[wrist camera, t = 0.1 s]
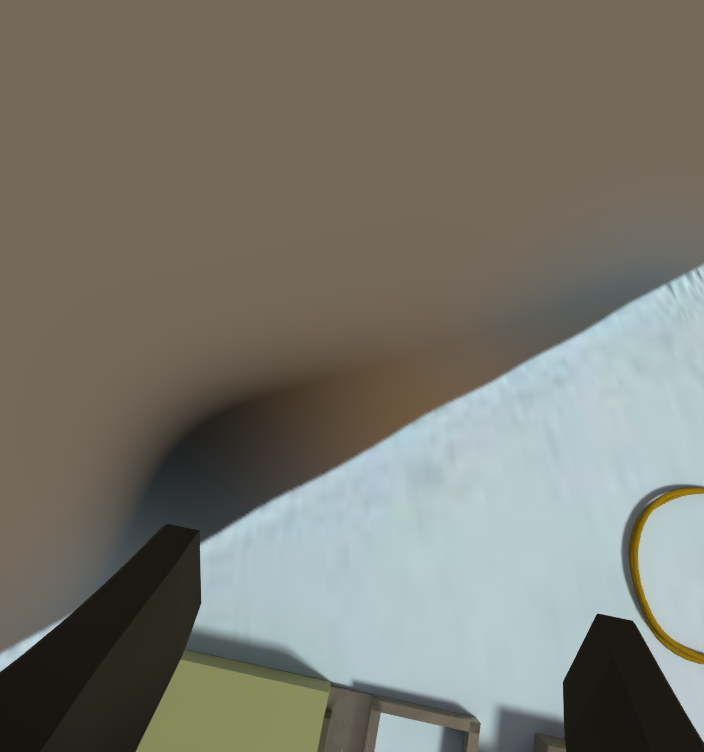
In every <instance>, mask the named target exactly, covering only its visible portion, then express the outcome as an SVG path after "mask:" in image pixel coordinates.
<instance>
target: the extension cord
mask: <svg viewBox="0 0 704 752" xmlns="http://www.w3.org/2000/svg"><path fill="white" fill-rule="evenodd" d="M691 494H704V488H684V489H678V490H673V491H670V492H668V493H665V494H664V495H662V496H660V497H659V498H657V499H656V500H655V501H654V502H653V503H652V504H651V505H650V506H649V507H648V508H647V509H646V510H645V511H644V512H643V513H642V514H641V515H640V517H639V518H638V520H637V522H636V523H635V525H634V528H633V531H632V534H631V539H630V547H629V558H630V568H631V574H632V579H633V583H634V587H635V591H636V594H637V597H638V600H639V603H640V606H641V608H642V611H643V613H644V616H645V619H646V621H647V623H648V625H649V627H650V629H651V631H652V632H653V634H654V635H655V636H656V637H657V639H658V640H659V641H660V642H661V643H662V644H663V645H664V646H665V647H666V648H667V649H669V650H670V651H672V652H673V653H675V654H676V655H678V656H680V657H682V658H684V659H686V660H689V661H692V662H695V663H699V664H704V655H702V654H699V653H697V652H694V651H692V650H690V649H688V648H686V647H684V646H682V645H681V644H679V643H677V642H676V641H674V640H673V639H672V638H670V637H669V636H668V635H667V634H666V633H665V632H664V631H663V630H662V629H661V627H660V626H659V625H658V623H657V622H656V620H655V618H654V616H653V615H652V612H651V610H650V608H649V606H648V603H647V601H646V599H645V596H644V592H643V589H642V585H641V581H640V575H639V569H638V547H639V541H640V536H641V532H642V529H643V526H644V524H645V522H646V520H647V518H648V516H649V515H650V513H651V512H652V511H653V510H654V509H656V508H657V507H659V506H660V505H662V504H664V503H666V502H668V501H670V500H673V499H676V498H678V497H681V496H685V495H691ZM668 642H669V643H668ZM678 649H679V650H678Z"/></svg>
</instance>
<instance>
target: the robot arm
mask: <svg viewBox="0 0 704 752" xmlns="http://www.w3.org/2000/svg"><path fill="white" fill-rule="evenodd" d="M200 605H201V578H200V537H199V530H194V529H189V528H184V527H180V526H175V525H170V524H167V525H165V526H164V527H162V528H161V529H160V530H159V531H158V532H157V533H156V534H155V535H154V536H153V537H152V538H151V539H150V540H149V541H148V542H147V543H146V544H145V545H144V546H143V547H142V548H141V549H140V550H139V551H138V552H137V553H136V554H135V555H134V556H133V557H132V558H131V559H130V560H129V561H128V562H127V563H126V564H125V565H124V566H123V567H122V568H121V569H120V570H119V571H118V572H117V573H116V574H115V575H113V576H112V577H111V578H110V579H109V580H108V581H107V582H106V583H105V584H104V585H103V586H102V587H101V588H100V589H98V590H97V591H96V592H95V593H94V594H93V595H92V596H91V597H90V598H89V599H87V600H86V601H85V602H84V603H83V604H82V605H81V606H80V607H79V608H77V609H76V610H75V611H74V612H73V613H72V614H71V615H70V616H68V617H67V618H66V619H65V620H64V621H63V622H61V623H60V624H59V625H58V626H57V627H55V628H54V629H53V630H52V631H51V632H49V633H48V634H47V635H46V636H45V637H43V638H42V639H41V640H40V641H39V642H37V643H36V644H35V645H34V646H33V647H31V648H30V649H29V650H28V651H27V652H25V653H24V654H23V655H22V656H20V657H19V658H18V659H17V660H15V661H14V662H13V663H11V664H10V665H9V666H8V667H6V668H5V669H4V670H2V671H1V672H0V752H136V750H137V748H138V746H139V744H140V742H141V740H142V738H143V736H144V734H145V732H146V730H147V727H148V725H149V723H150V721H151V719H152V717H153V715H154V713H155V711H156V709H157V707H158V705H159V703H160V701H161V699H162V697H163V695H164V693H165V691H166V689H167V687H168V685H169V682H170V680H171V678H172V676H173V674H174V672H175V670H176V668H177V666H178V664H179V662H180V660H181V657H182V655H183V652H184V649H185V647H186V644H187V641H188V639H189V636H190V633H191V631H192V628H193V625H194V622H195V619H196V616H197V614H198V611H199V608H200ZM563 701H564V729H565V746H566V752H704V742H703V741H702V739H701V737H700V736H699V734H698V733H697V731H696V729H695V728H694V726H693V724H692V723H691V721H690V719H689V718H688V716H687V714H686V713H685V711H684V709H683V707H682V706H681V704H680V702H679V701H678V699H677V697H676V695H675V694H674V692H673V690H672V688H671V687H670V685H669V683H668V681H667V680H666V678H665V676H664V674H663V673H662V671H661V669H660V667H659V666H658V664H657V662H656V660H655V658H654V657H653V655H652V653H651V651H650V649H649V648H648V646H647V644H646V642H645V640H644V639H643V637H642V635H641V633H640V632H639V630H638V628H637V626H636V625H635V623H634V622H633V621H631V620H626V619H621V618H616V617H612V616H607V615H602V614H597V615H596V617H595V619H594V621H593V623H592V625H591V627H590V629H589V631H588V633H587V635H586V637H585V639H584V641H583V643H582V645H581V647H580V649H579V651H578V653H577V655H576V657H575V659H574V661H573V663H572V665H571V667H570V669H569V671H568V673H567V675H566V677H565V679H564V681H563Z"/></svg>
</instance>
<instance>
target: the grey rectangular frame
mask: <svg viewBox="0 0 704 752" xmlns="http://www.w3.org/2000/svg"><path fill="white" fill-rule="evenodd" d="M326 709H327V710H331V711H332V715H331V720H330V725H329V731H328V736H327V741H326V747H325V752H374V749H375V743H376V737H377V731H378V725H379V719H380V713H381V712H382V713H386V714H391V715H395V716H400V717H404V718H409V719H413V720H418V721H422V722H426V723H431V724H435V725H440V726H444V727H449V728H453V729H458V730H462V731H465V733H464V741H463V748H462V752H477V748H478V740H479V732H480V724H481V723H480V722H479V720H478V719H477V718H476V717H471V716H467V715H462V714H458V713H453V712H449V711H444V710H440V709H435V708H431V707H426V706H422V705H417V704H413V703H408V702H403V701H399V700H394V699H390V698H385V697H381V696H376V695H372V694H367V693H363V692H358V691H354V690H349V689H345V688H340V687H336V686H330V691H329V696H328V701H327V706H326Z"/></svg>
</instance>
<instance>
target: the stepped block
mask: <svg viewBox="0 0 704 752" xmlns="http://www.w3.org/2000/svg"><path fill="white" fill-rule="evenodd" d="M534 752H566V746H565V739H561V738H556V737H552V736H547V735H542V734H538V733H535V743H534Z"/></svg>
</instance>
